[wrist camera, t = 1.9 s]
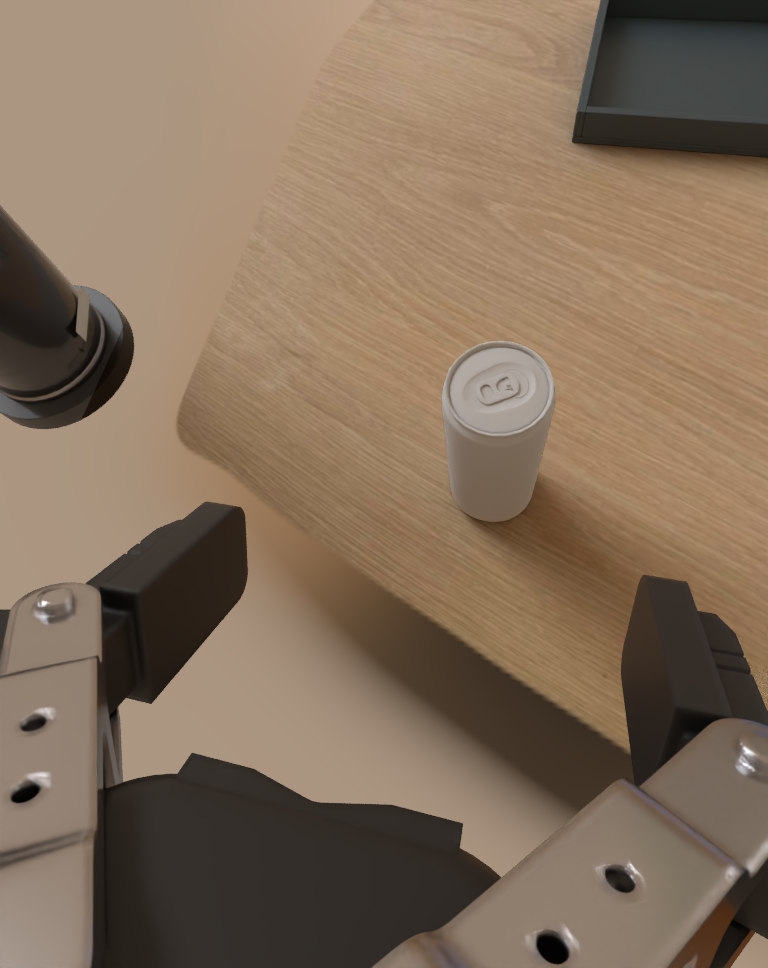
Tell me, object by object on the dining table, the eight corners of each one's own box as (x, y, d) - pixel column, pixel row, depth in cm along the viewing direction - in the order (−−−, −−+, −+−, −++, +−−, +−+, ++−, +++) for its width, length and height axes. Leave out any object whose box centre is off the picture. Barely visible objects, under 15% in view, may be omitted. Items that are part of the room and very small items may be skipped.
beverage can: (546, 509, 36) (577, 415, 25) (468, 537, 37) (465, 456, 25) (513, 439, 38) (529, 322, 27) (439, 466, 38) (424, 360, 27)
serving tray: (571, 142, 46) (576, 111, 44) (598, 17, 50) (604, -17, 48) (833, 162, 42) (854, 129, 40) (839, 26, 46) (858, -11, 44)
